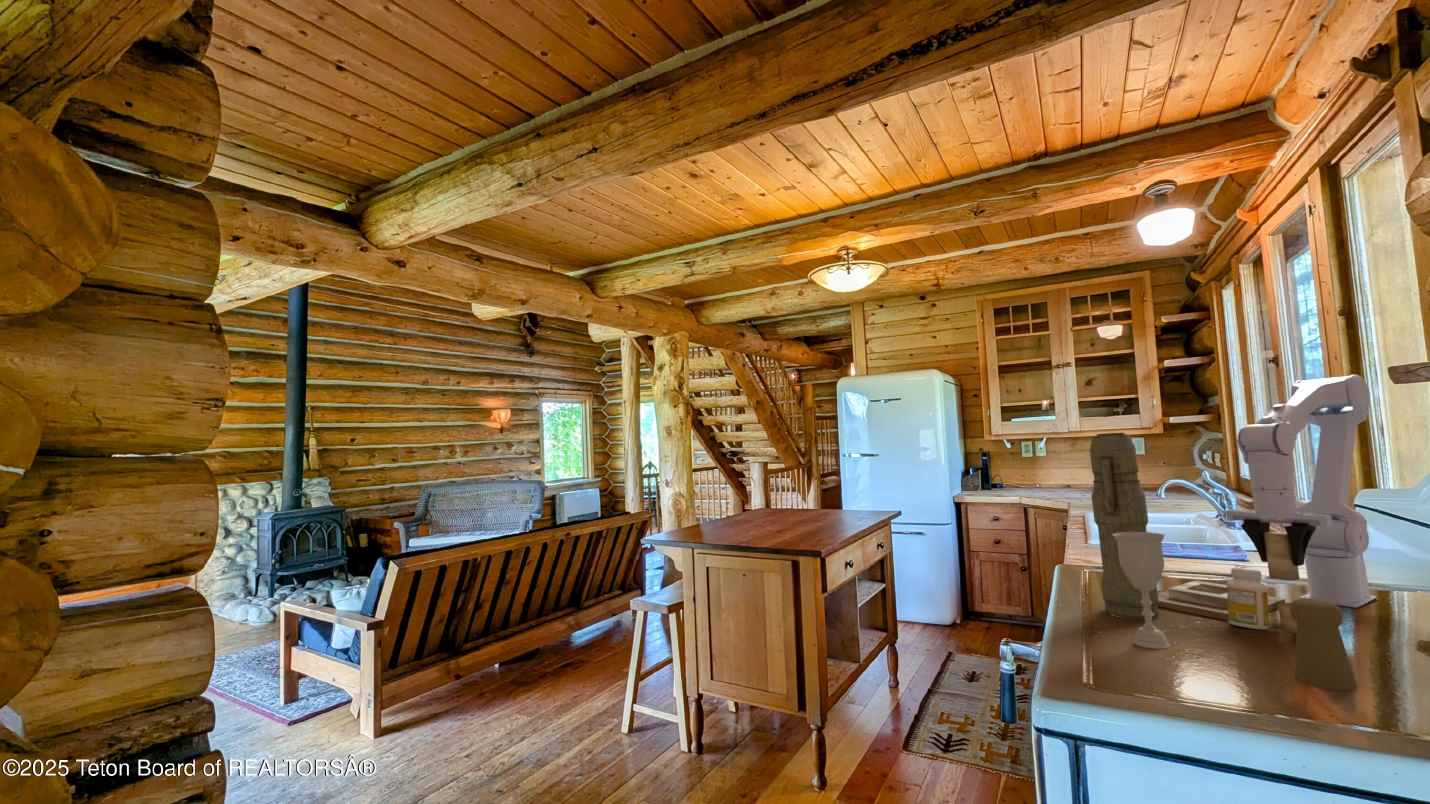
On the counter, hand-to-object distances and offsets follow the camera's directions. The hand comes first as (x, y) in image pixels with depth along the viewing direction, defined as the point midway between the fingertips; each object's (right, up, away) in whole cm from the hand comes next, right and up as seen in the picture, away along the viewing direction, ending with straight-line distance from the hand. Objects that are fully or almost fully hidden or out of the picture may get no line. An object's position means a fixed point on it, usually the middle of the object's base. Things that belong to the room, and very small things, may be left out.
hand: (1282, 562), depth 109 cm
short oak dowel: (-5, -9, -8) cm, 13 cm away
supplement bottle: (-10, -10, -5) cm, 15 cm away
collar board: (-6, -10, +8) cm, 15 cm away
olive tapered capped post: (-20, -9, -27) cm, 35 cm away
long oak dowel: (0, -3, 0) cm, 3 cm away
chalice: (-31, -11, -9) cm, 34 cm away
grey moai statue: (-23, -12, +7) cm, 27 cm away
